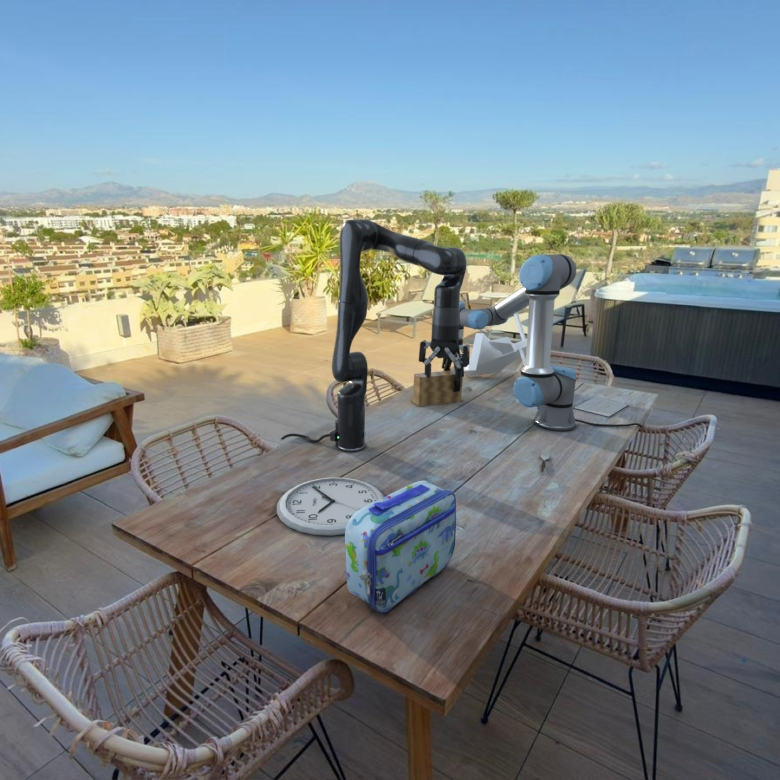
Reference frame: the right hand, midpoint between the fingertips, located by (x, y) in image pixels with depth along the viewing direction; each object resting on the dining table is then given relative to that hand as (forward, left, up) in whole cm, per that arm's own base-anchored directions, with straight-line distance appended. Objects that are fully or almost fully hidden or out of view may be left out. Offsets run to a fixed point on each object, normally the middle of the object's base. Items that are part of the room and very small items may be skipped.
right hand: (451, 388), depth 230 cm
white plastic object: (-24, -31, -5) cm, 39 cm away
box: (+6, +3, -5) cm, 9 cm away
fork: (-31, +61, -5) cm, 69 cm away
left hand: (+3, +77, +26) cm, 82 cm away
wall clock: (+32, +97, -5) cm, 103 cm away
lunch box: (+9, +127, -5) cm, 128 cm away
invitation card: (-65, -2, -5) cm, 65 cm away
